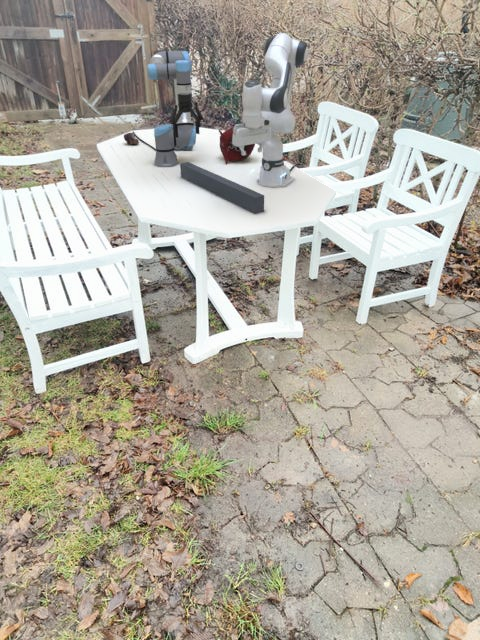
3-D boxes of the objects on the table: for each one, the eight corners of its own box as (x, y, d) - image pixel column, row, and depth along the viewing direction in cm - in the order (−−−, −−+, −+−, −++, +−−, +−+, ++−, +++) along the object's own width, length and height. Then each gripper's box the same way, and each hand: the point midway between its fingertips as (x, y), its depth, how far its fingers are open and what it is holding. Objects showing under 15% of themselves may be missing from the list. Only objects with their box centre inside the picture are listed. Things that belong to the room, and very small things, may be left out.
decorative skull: (216, 132, 305) (216, 129, 282) (250, 124, 304) (252, 121, 281) (223, 164, 312) (223, 164, 288) (256, 157, 311) (259, 156, 288)
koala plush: (193, 150, 321) (191, 121, 310) (168, 151, 320) (165, 122, 309) (193, 144, 335) (191, 116, 324) (169, 145, 334) (166, 117, 323)
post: (181, 177, 270) (179, 163, 265) (189, 175, 273) (188, 161, 268) (255, 214, 220) (255, 197, 216) (264, 211, 223) (264, 195, 218)
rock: (136, 143, 344) (123, 145, 340) (134, 131, 341) (121, 132, 336) (140, 144, 335) (127, 145, 331) (138, 132, 331) (125, 133, 327)
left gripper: (167, 96, 232) (170, 139, 244) (207, 92, 244) (209, 133, 256) (160, 95, 237) (164, 137, 249) (200, 90, 249) (202, 131, 261)
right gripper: (237, 126, 195) (237, 158, 203) (273, 120, 205) (272, 151, 213) (229, 123, 200) (229, 155, 208) (265, 118, 209) (264, 149, 217)
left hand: (187, 135), depth 253 cm, fingers open, 13 cm apart
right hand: (251, 153), depth 210 cm, fingers open, 8 cm apart
